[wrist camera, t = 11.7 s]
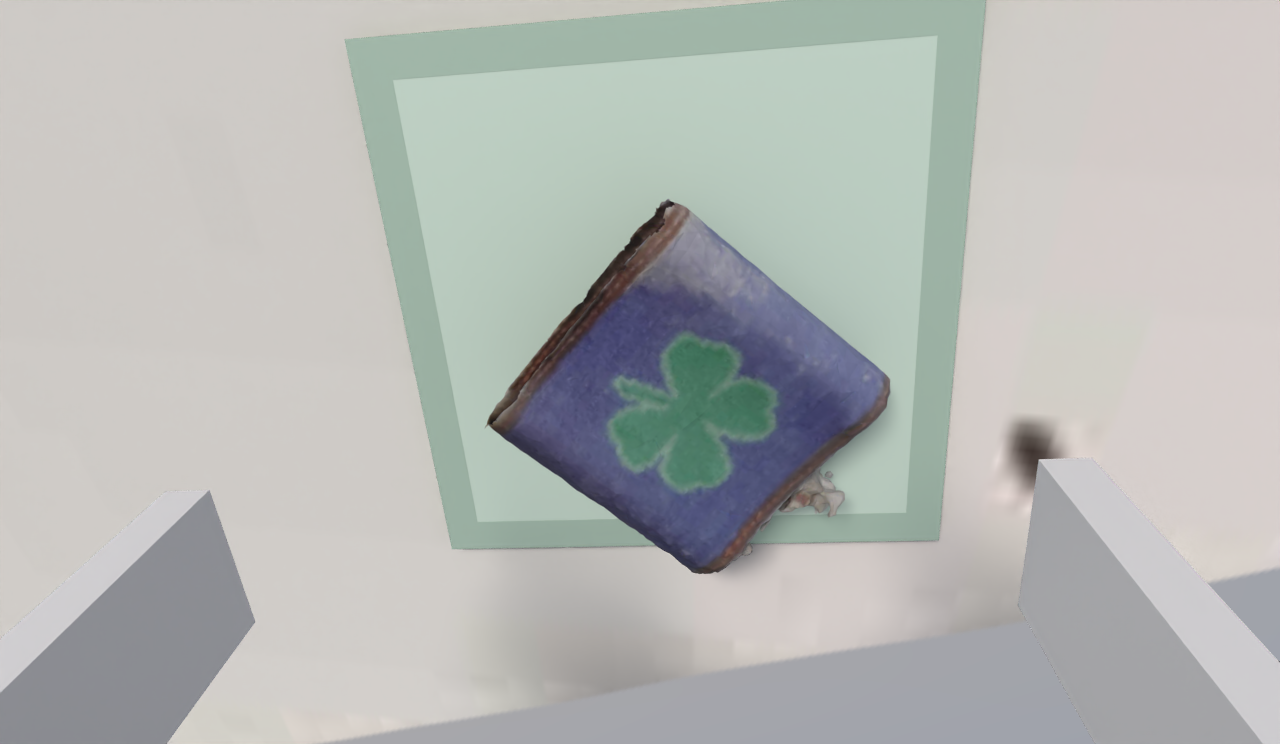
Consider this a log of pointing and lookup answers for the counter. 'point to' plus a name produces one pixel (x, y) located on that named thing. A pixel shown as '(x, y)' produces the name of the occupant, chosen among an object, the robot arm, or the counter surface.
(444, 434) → the mat
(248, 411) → the counter surface
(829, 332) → the blue clover box
